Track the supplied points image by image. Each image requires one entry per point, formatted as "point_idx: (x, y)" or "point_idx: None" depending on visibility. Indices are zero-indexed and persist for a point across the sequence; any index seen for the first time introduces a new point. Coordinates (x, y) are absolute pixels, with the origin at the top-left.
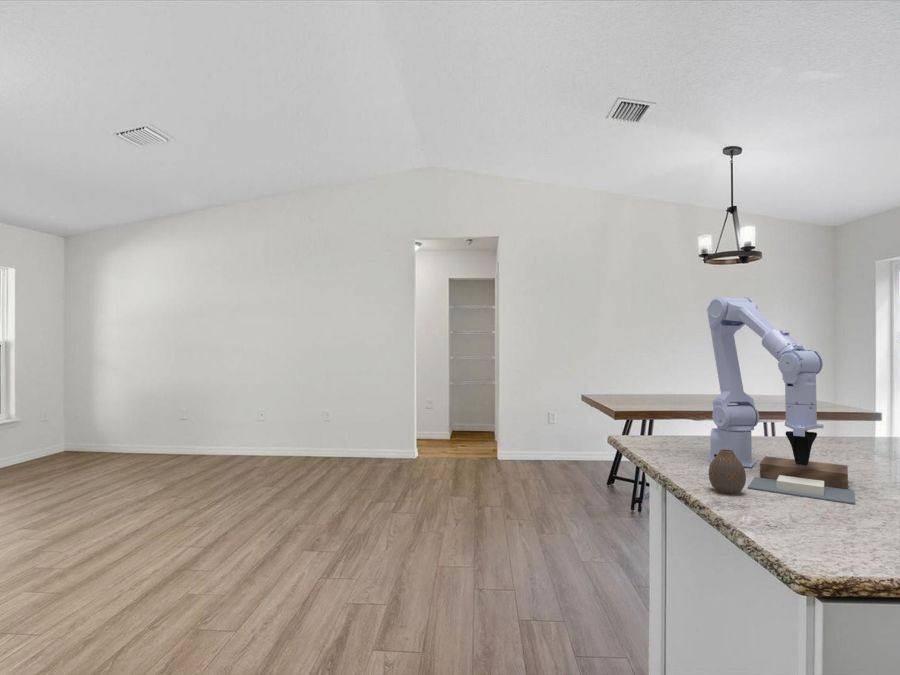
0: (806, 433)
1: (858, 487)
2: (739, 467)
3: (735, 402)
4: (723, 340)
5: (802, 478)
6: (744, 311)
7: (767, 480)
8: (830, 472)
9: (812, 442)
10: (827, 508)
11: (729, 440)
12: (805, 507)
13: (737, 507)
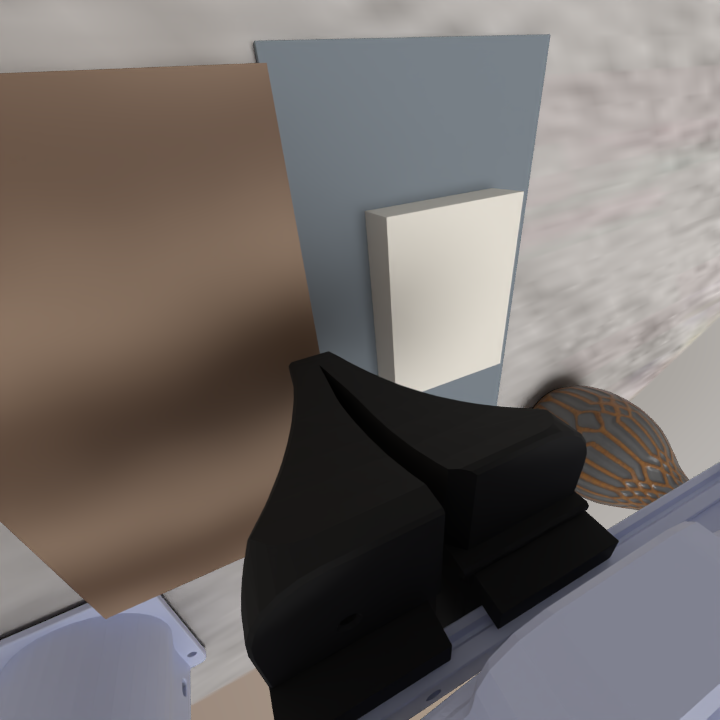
0: (498, 558)
1: (20, 5)
2: (657, 426)
3: None
4: None
5: (401, 315)
6: None
7: None
8: (290, 206)
9: (494, 409)
10: (620, 146)
11: None
12: (626, 211)
13: (657, 333)
